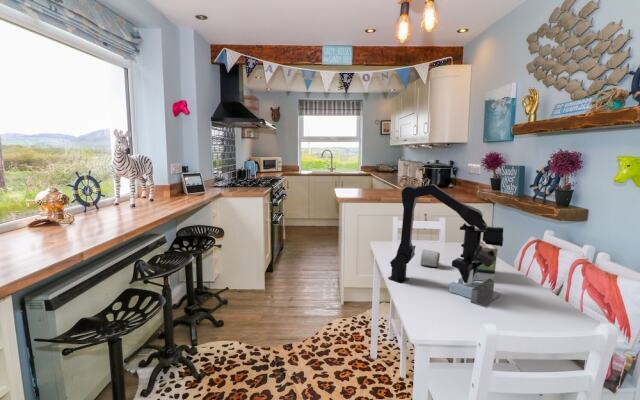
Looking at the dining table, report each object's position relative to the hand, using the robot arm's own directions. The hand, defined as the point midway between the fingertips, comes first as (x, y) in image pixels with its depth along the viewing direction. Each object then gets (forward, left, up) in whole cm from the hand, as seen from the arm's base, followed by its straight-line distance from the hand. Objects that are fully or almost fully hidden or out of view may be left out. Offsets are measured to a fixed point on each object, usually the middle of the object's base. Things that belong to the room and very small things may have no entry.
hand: (468, 281), depth 132 cm
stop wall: (0, -7, -5) cm, 9 cm away
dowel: (0, 0, -4) cm, 5 cm away
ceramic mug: (+18, +26, -5) cm, 32 cm away
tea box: (+23, +5, -5) cm, 24 cm away
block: (0, 0, -4) cm, 5 cm away
